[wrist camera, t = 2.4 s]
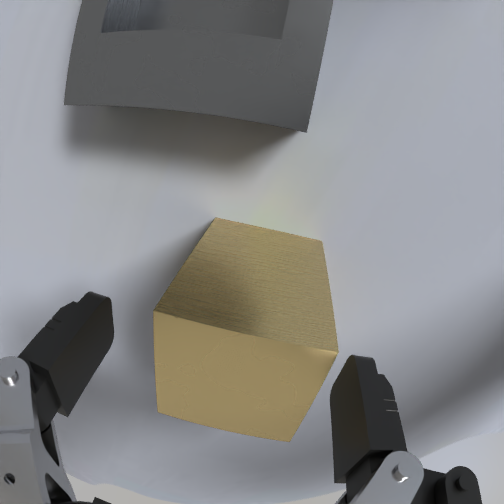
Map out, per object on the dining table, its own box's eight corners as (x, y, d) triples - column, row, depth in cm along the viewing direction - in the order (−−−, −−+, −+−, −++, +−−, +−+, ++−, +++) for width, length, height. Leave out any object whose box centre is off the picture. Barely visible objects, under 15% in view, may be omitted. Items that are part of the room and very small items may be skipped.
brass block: (321, 240, 14) (338, 352, 7) (295, 324, 16) (289, 442, 10) (215, 217, 14) (153, 310, 8) (204, 304, 16) (157, 412, 10)
